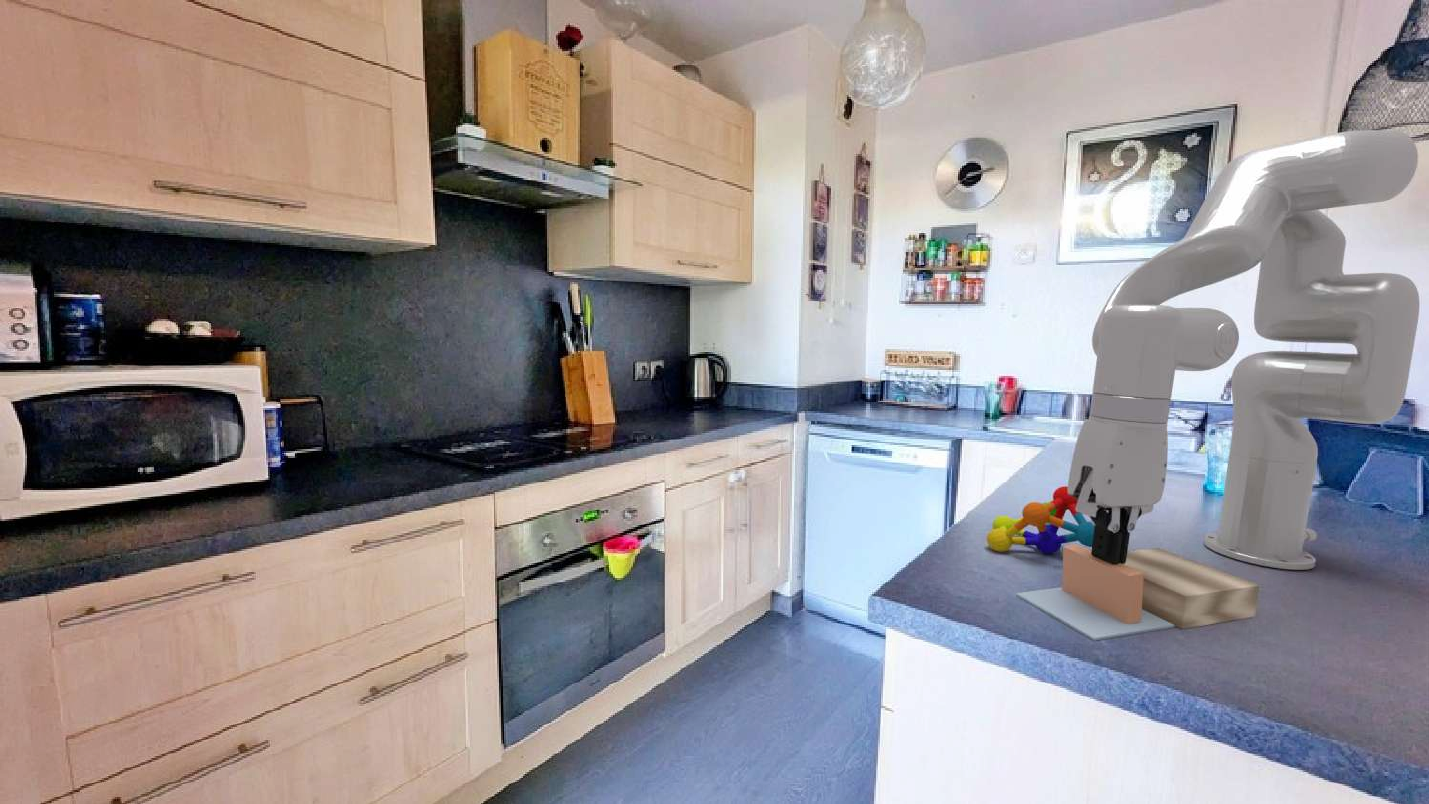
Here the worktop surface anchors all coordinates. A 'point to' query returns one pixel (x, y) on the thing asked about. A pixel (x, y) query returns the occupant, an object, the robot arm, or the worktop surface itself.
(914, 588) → the worktop surface
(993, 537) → the molecular model
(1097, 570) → the salmon pink brick
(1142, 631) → the mat
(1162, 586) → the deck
